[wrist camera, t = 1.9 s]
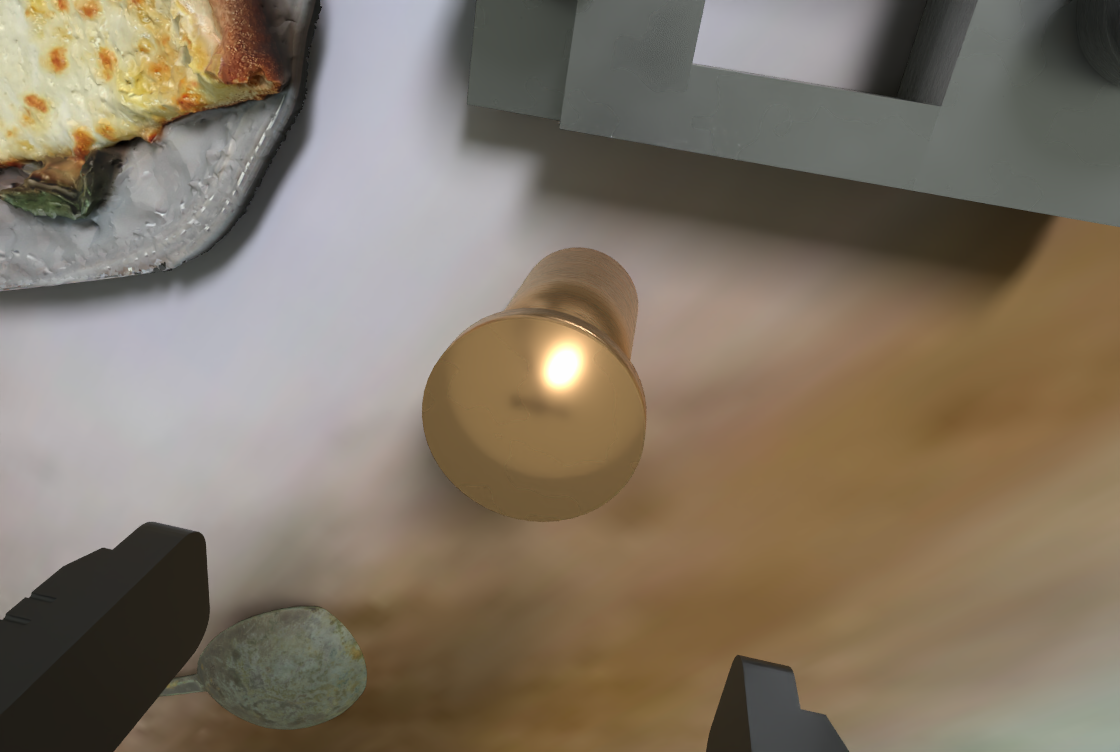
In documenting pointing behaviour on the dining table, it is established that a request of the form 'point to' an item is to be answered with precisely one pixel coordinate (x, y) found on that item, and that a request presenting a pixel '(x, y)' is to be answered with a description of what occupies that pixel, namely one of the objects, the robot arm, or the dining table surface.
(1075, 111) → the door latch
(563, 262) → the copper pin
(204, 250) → the food plate
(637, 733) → the dining table surface
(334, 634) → the soupspoon
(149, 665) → the robot arm
